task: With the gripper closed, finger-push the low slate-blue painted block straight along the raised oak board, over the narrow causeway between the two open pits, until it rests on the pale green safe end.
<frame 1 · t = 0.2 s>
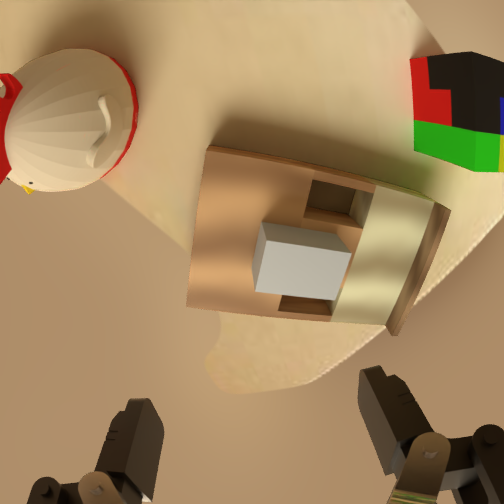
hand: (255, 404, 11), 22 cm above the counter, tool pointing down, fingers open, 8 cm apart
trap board: (309, 237, 32), on the counter
puzzle toy: (446, 108, 27), on the counter
kitchen timer: (74, 117, 25), on the counter
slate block: (294, 250, 28), point 4 cm above the counter, touching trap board
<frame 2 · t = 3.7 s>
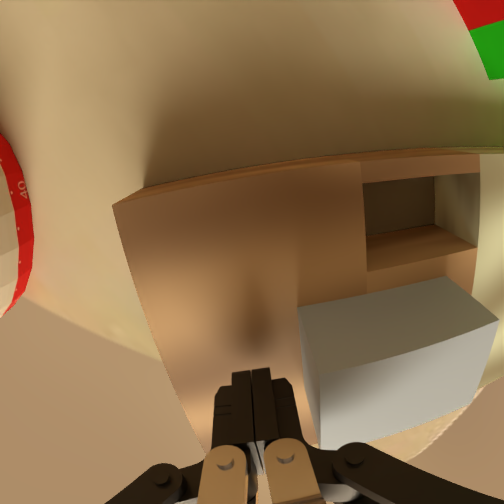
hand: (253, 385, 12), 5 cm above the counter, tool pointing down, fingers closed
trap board: (382, 287, 17), on the counter
puzzle toy: (495, 6, 11), on the counter
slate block: (377, 335, 13), point 4 cm above the counter, touching gripper
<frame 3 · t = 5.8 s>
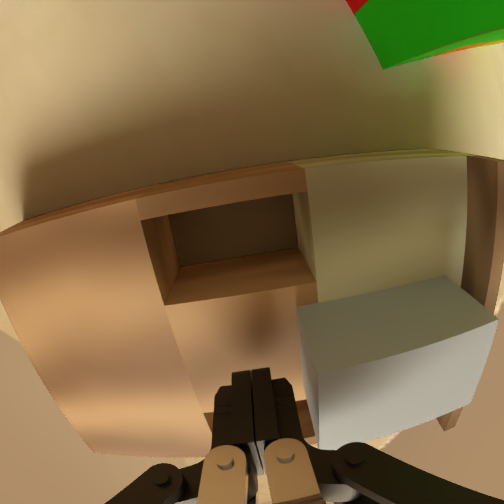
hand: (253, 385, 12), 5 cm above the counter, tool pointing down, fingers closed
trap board: (240, 313, 17), on the counter
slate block: (376, 334, 13), point 4 cm above the counter, touching gripper, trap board
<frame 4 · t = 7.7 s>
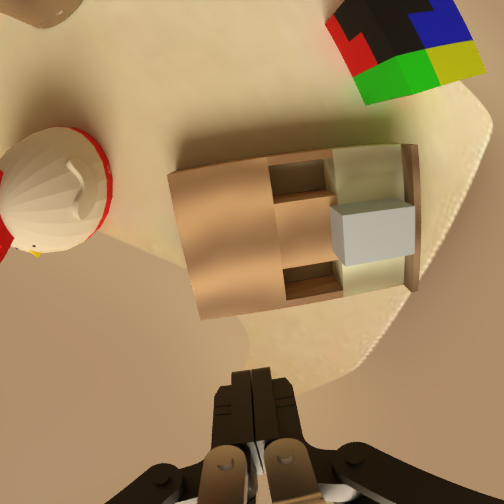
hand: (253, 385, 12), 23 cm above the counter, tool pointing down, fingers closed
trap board: (297, 223, 33), on the counter
puzzle toy: (382, 53, 27), on the counter
kitchen timer: (62, 186, 31), on the counter
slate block: (364, 224, 29), point 4 cm above the counter, touching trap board
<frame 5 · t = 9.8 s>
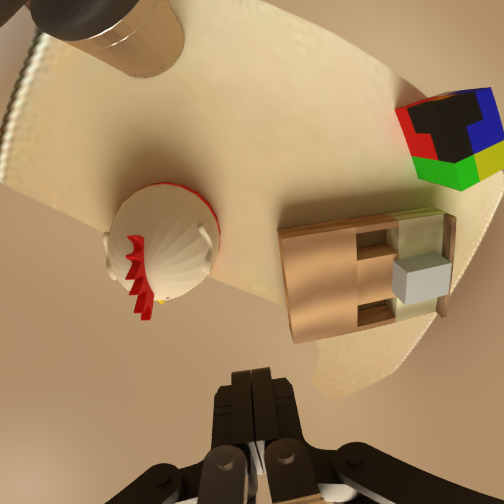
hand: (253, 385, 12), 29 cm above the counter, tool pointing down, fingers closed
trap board: (364, 268, 42), on the counter
puzzle toy: (432, 133, 36), on the counter
kitchen timer: (167, 235, 40), on the counter
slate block: (414, 271, 38), point 4 cm above the counter, touching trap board
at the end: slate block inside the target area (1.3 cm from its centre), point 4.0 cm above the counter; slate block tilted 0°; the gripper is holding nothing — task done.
